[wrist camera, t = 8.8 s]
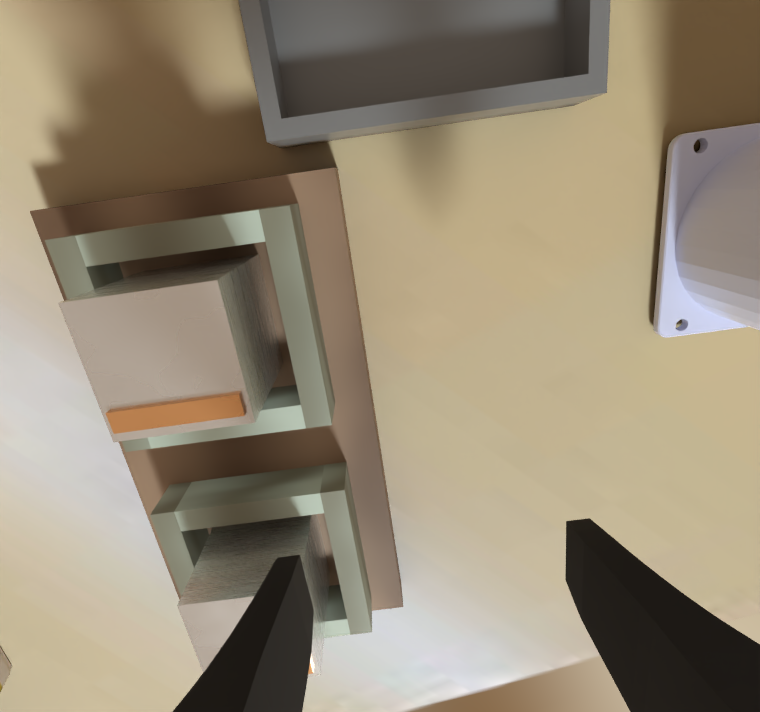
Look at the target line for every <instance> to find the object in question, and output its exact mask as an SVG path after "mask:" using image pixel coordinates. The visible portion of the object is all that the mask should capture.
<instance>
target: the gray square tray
mask: <svg viewBox="0 0 760 712" xmlns="http://www.w3.org/2000/svg"><path fill="white" fill-rule="evenodd" d="M238 1H239V6H240V11H241V16H242V21H243V26H244V31H245V36H246V41H247V46H248V51H249V56H250V61H251V66H252V71H253V76H254V81H255V86H256V91H257V95H258V100H259V105H260V110H261V115H262V120H263V125H264V130H265V135H266V140H267V142H268V143H270V144H273V145H275V146H277V147H280V148H283V147H290V146H297V145H304V144H311V143H318V142H325V141H332V140H339V139H346V138H353V137H359V136H366V135H373V134H380V133H387V132H394V131H401V130H408V129H415V128H422V127H429V126H436V125H442V124H449V123H456V122H463V121H470V120H477V119H484V118H491V117H498V116H505V115H512V114H519V113H526V112H532V111H539V110H546V109H553V108H560V107H567V106H574V105H576V104H579V103H581V102H584V101H587V100H589V99H592V98H594V97H597V96H600V95H602V94H605V93H607V74H608V48H609V21H610V0H238Z"/></svg>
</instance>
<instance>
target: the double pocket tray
mask: <svg viewBox="0 0 760 712" xmlns="http://www.w3.org/2000/svg"><path fill="white" fill-rule="evenodd" d="M30 213H31V216H32V218H33V221H34V223H35V226H36V229H37V231H38V234H39V236H40V239H41V242H42V244H43V247H44V249H45V252H46V254H47V257H48V260H49V262H50V265H51V267H52V270H53V273H54V275H55V278H56V280H57V283H58V286H59V288H60V291H61V293H62V296H63V299H64V301H65V300H68V299H70V298H73V297H76V296H78V295H81V294H84V293H86V292H89V291H91V290H94V289H97V288H99V287H102V286H105V285H107V284H110V283H113V282H115V281H118V280H120V279H123V278H126V277H128V276H131V275H134V274H136V273H139V272H141V271H146V270H153V269H160V268H166V267H173V266H180V265H187V264H194V263H201V262H208V261H214V260H221V259H228V258H235V257H242V256H249V255H256V254H259V259H260V263H261V267H262V272H263V276H264V281H265V285H266V289H267V294H268V298H269V302H270V307H271V311H272V315H273V320H274V324H275V328H276V333H277V337H278V341H279V346H280V350H281V355H282V359H283V365H282V367H281V369H280V371H279V373H278V375H277V378H276V380H275V382H274V384H273V386H272V388H271V390H270V392H269V395H268V397H267V399H266V401H265V403H264V405H263V407H262V409H261V412H260V414H259V416H258V418H257V420H256V422H255V423H250V424H243V425H236V426H228V427H221V428H214V429H206V430H199V431H192V432H185V433H177V434H170V435H163V436H155V437H148V438H141V439H133V440H126V441H119V444H120V446H121V449H122V451H123V454H124V457H125V459H126V462H127V464H128V467H129V470H130V472H131V475H132V477H133V480H134V483H135V485H136V488H137V490H138V493H139V496H140V498H141V501H142V503H143V506H144V508H145V511H146V514H147V516H148V519H149V521H150V524H151V527H152V529H153V532H154V534H155V537H156V540H157V542H158V545H159V547H160V550H161V553H162V555H163V558H164V560H165V563H166V566H167V568H168V571H169V573H170V576H171V578H172V581H173V584H174V586H175V589H176V591H177V594H178V597H179V599H181V597H182V594H183V592H184V590H185V588H186V585H187V583H188V581H189V579H190V577H191V574H192V572H193V570H194V568H195V566H196V563H197V561H198V559H199V557H200V554H201V552H202V550H203V548H204V546H205V543H206V541H207V539H208V537H209V535H210V532H211V530H212V528H213V527H220V526H227V525H235V524H243V523H251V522H259V521H267V520H275V519H283V518H290V517H298V516H306V515H314V514H317V516H318V521H319V525H320V530H321V534H322V539H323V543H324V548H325V552H326V556H327V561H328V565H329V570H330V581H329V591H328V602H327V612H326V623H325V633H324V638H327V637H335V636H344V635H352V634H360V633H368V632H372V610H381V609H389V608H397V607H403V599H402V587H401V579H400V572H399V566H398V559H397V553H396V546H395V540H394V533H393V527H392V520H391V514H390V507H389V501H388V494H387V488H386V481H385V475H384V468H383V462H382V455H381V449H380V442H379V436H378V429H377V423H376V416H375V410H374V403H373V396H372V390H371V383H370V377H369V370H368V364H367V357H366V351H365V344H364V338H363V331H362V325H361V318H360V312H359V305H358V299H357V292H356V286H355V279H354V273H353V266H352V260H351V253H350V247H349V240H348V234H347V227H346V221H345V214H344V208H343V201H342V195H341V188H340V181H339V175H338V169H337V168H335V167H334V168H327V169H321V170H314V171H307V172H300V173H293V174H286V175H279V176H272V177H265V178H258V179H251V180H244V181H237V182H230V183H223V184H216V185H209V186H202V187H195V188H188V189H181V190H174V191H167V192H160V193H153V194H146V195H139V196H132V197H125V198H118V199H111V200H104V201H97V202H90V203H83V204H76V205H69V206H62V207H55V208H48V209H41V210H34V211H30Z"/></svg>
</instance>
